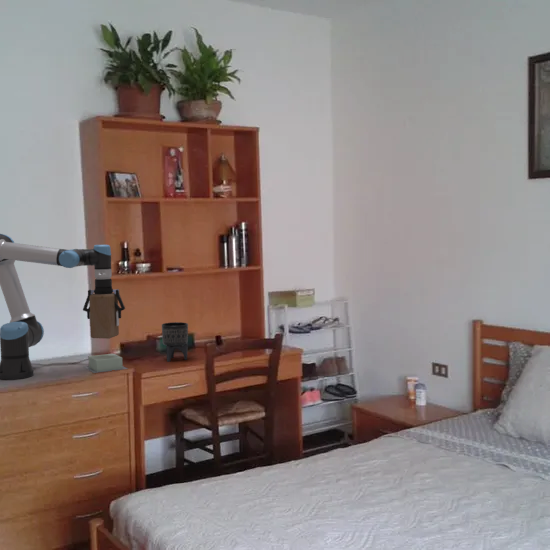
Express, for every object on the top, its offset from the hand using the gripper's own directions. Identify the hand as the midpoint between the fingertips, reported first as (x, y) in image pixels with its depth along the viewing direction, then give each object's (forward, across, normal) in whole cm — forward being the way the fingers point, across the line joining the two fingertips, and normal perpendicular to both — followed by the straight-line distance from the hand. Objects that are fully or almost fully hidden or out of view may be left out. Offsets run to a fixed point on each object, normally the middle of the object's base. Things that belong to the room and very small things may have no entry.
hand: (104, 325), depth 309 cm
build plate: (+21, 0, 0) cm, 21 cm away
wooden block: (+5, 0, 0) cm, 5 cm away
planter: (+21, +31, +20) cm, 42 cm away
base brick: (+20, 0, 0) cm, 20 cm away
